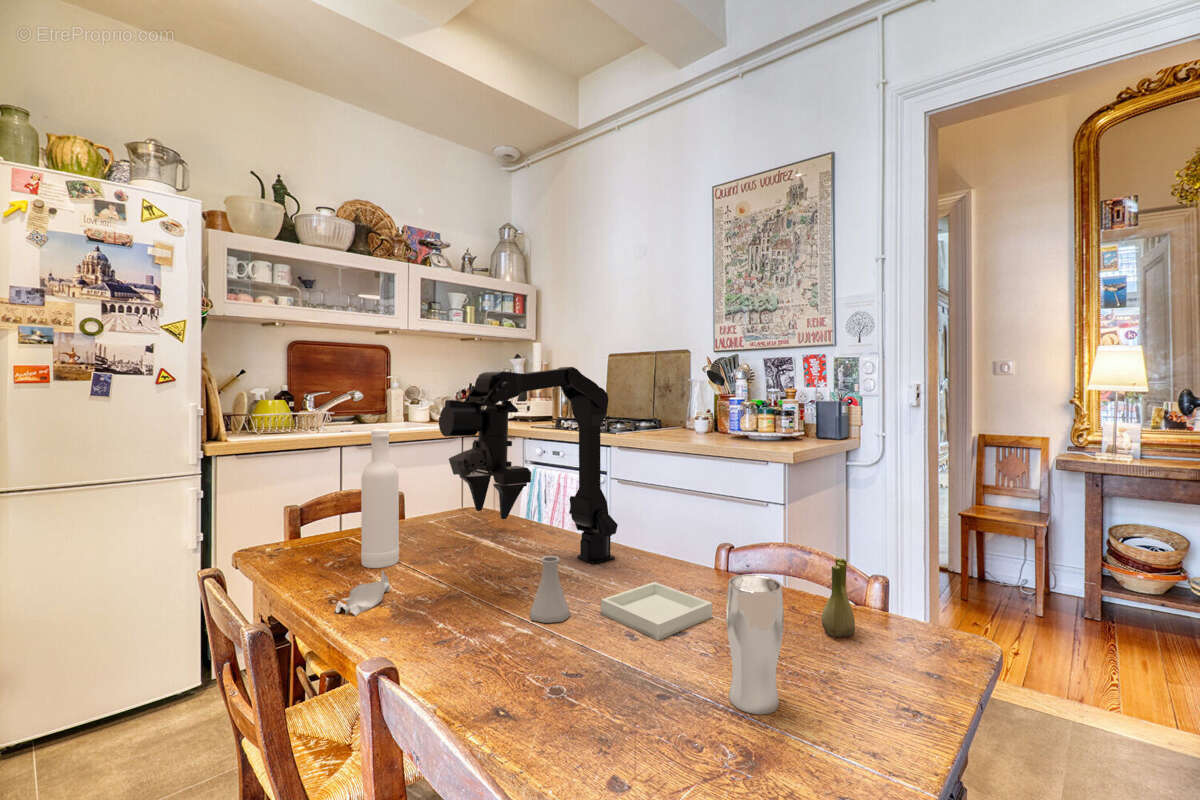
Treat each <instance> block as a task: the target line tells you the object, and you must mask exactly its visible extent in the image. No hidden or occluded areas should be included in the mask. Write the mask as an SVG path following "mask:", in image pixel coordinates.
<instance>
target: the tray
mask: <svg viewBox="0 0 1200 800" xmlns="http://www.w3.org/2000/svg"><path fill="white" fill-rule="evenodd" d="M600 614H601V615H603V616H605V617H608V618H610V619H612V620H614V621H616V622H617V623H620V624H623V625H624V626H626V627H629V628H630V629H633V630H635V631H638V632H639V633H641V634H643V635H646V636H648V637H649V638H652V639H654V640H656V641H661V640H663V639H665V638H668V637H670V636H672V635H675V634H676V633H677V634H678V633H680V632H681V631H684V630H686V629H688V628H690V627H693V626H695V625H698V624H699V623H700V624H701V623H702V622H704V621H706V620H708V619H712V617H713V602H712V601H708V600H706V599H703V598H700V597H697V596H694V595H692V594H690V593H687V592H684V591H680V590H678V589H676V588H672V587H670V586H667V585H664V584H662V583H658V582H656V581H653V582H649V583H646V584H643V585H640V586H638V587H634V588H632V589H629V590H628V589H627V590H626V591H622V592H620V593H617V594H614V595H611V596H608V597H605V598H601V599H600Z"/></svg>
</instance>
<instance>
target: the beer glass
mask: <svg viewBox="0 0 1200 800" xmlns="http://www.w3.org/2000/svg"><path fill="white" fill-rule="evenodd" d="M727 581H728V586H727V596H726V610H725V611H726V613H725V616H726V621H725V622H726V632H727V637H728V638H727V639H728V645H729V646H728V647H729V650H730V651H729V652H730V655H731V656H730V657H731V663H732V671H731V672H732V675H731V682H730V685H729V693H728V699H729V701H730V703H731V704H732V706H734V707H735V708H737V710H740V711H742V712H744V713H748V714H752V715H760V716H761V715H769V714H772V713H773V712H776V711H777V710H778V708H779V707H780V706H779V705H780V699H779V694H778V693H779V692H778V688H777V667H778V662H779V661H778V660H779V657H780V651H781V647H782V642H783V636H784V635H783V633H784V622H785V621H784V620H785V616H784V614H785V613H784V597H783V584H782V583H781V582H780V581H779V580H776V579H775V578H771V577H768V576H763V575H760V574H738V575H735V576H731V577H730V578H729V579H728V580H727Z"/></svg>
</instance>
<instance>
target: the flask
mask: <svg viewBox="0 0 1200 800" xmlns="http://www.w3.org/2000/svg"><path fill="white" fill-rule="evenodd" d="M540 561H541V564H542V572H541V577H540V582H539V586H538V588H537V592H536V595H535V597H534V600H533V603H532V606H531V608H530V611H529V617H530V620H531V621H535V622H540V623H545V624H549V623H558V622H559V623H560V622H565V620H567V619H568V618H569V617H571V616H572V615H571V610H570V608H569V606H568V603H567V599H566V598H565V593H564V590H563V588H562V587H563V586H562V585H561V581H560V575H559V562H560V557H559V556H556V555H545V556H543V557H541V560H540Z"/></svg>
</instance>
